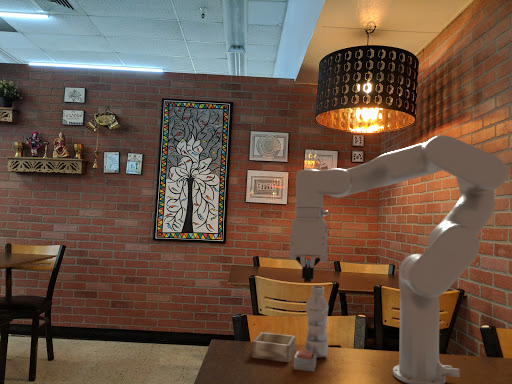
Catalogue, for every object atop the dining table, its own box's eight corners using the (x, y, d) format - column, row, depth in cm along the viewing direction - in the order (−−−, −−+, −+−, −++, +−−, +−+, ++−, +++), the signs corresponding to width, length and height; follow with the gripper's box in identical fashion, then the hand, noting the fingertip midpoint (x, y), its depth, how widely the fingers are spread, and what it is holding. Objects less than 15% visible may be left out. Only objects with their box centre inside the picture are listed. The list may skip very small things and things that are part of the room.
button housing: (316, 364, 111) (316, 353, 111) (314, 371, 106) (314, 360, 106) (296, 361, 112) (297, 350, 112) (293, 369, 107) (293, 357, 107)
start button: (312, 363, 110) (313, 351, 110) (311, 368, 107) (311, 355, 107) (299, 361, 111) (299, 349, 111) (297, 366, 108) (297, 354, 108)
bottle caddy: (294, 351, 121) (295, 335, 121) (289, 362, 112) (289, 345, 112) (260, 346, 124) (261, 332, 124) (252, 357, 114) (252, 341, 115)
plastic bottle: (329, 360, 114) (331, 289, 115) (305, 360, 114) (307, 288, 115) (326, 353, 120) (327, 285, 121) (303, 352, 120) (305, 284, 121)
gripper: (337, 215, 113) (336, 281, 112) (284, 213, 117) (283, 277, 116) (335, 215, 106) (334, 285, 105) (279, 213, 109) (278, 281, 108)
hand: (307, 281), depth 110 cm, fingers closed
